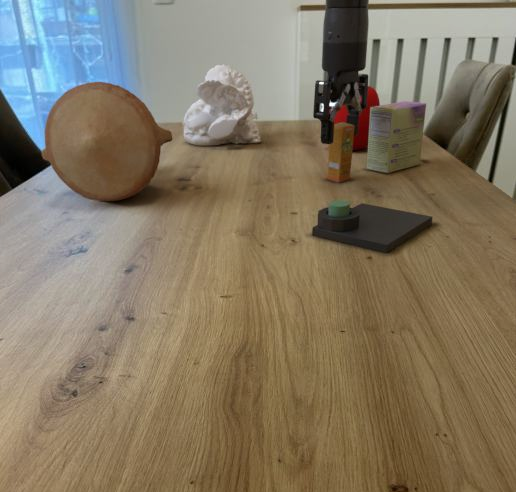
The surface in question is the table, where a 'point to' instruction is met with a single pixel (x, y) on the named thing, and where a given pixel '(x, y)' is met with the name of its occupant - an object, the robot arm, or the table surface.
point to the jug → (103, 141)
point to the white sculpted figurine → (222, 110)
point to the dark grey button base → (371, 226)
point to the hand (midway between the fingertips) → (339, 139)
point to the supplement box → (340, 152)
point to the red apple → (360, 119)
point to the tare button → (339, 208)
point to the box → (395, 136)
